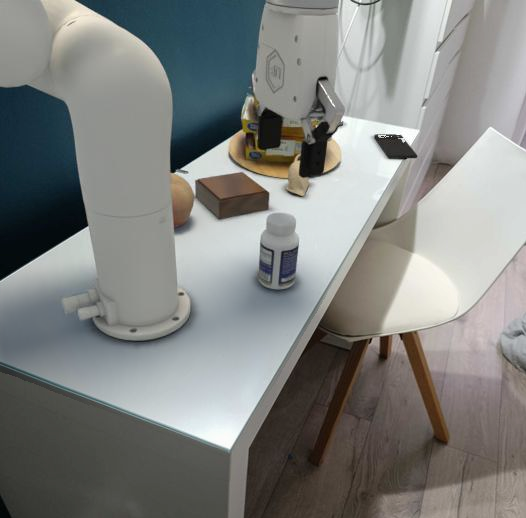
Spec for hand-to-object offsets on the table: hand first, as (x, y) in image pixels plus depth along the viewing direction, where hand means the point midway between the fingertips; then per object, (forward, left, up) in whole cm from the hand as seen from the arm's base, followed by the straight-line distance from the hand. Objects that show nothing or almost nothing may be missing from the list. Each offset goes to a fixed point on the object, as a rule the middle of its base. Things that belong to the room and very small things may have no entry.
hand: (288, 161), depth 62 cm
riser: (+6, +26, -17) cm, 32 cm away
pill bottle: (0, 0, -18) cm, 18 cm away
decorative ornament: (+21, +27, -18) cm, 38 cm away
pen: (+50, +55, -16) cm, 76 cm away
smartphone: (+53, +31, -17) cm, 64 cm away
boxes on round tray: (+31, +42, -20) cm, 56 cm away
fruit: (-7, +23, -18) cm, 30 cm away
